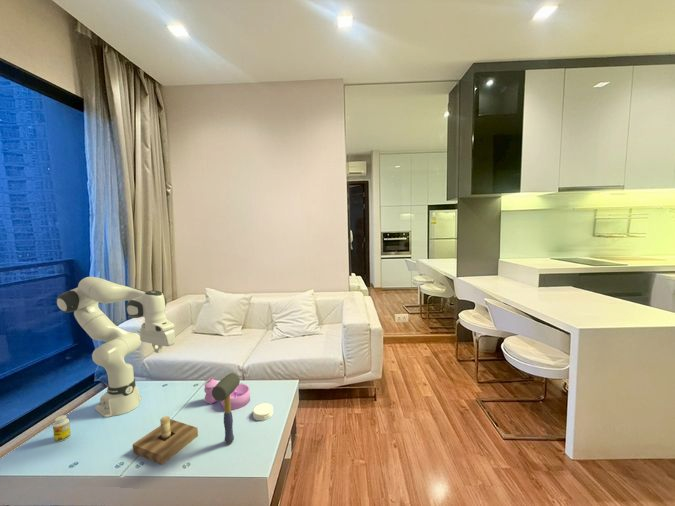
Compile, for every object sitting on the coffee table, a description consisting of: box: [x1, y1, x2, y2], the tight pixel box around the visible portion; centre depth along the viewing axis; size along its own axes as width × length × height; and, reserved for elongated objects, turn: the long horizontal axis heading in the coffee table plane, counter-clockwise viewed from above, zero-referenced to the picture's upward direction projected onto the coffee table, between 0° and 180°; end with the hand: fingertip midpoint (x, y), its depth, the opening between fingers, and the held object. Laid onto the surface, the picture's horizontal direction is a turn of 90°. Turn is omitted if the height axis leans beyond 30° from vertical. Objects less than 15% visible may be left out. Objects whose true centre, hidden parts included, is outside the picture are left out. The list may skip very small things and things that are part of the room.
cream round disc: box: [252, 402, 274, 422], centre depth 151 cm, size 10×10×4 cm
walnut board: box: [132, 418, 199, 465], centre depth 132 cm, size 18×18×4 cm
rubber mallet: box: [212, 372, 241, 445], centre depth 131 cm, size 12×8×30 cm, turn 170°
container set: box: [204, 377, 251, 411], centre depth 163 cm, size 25×15×13 cm, turn 86°
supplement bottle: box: [52, 414, 72, 443], centre depth 137 cm, size 6×6×10 cm
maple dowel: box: [160, 415, 171, 441], centre depth 131 cm, size 4×4×12 cm
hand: (158, 352), depth 142 cm, fingers closed
